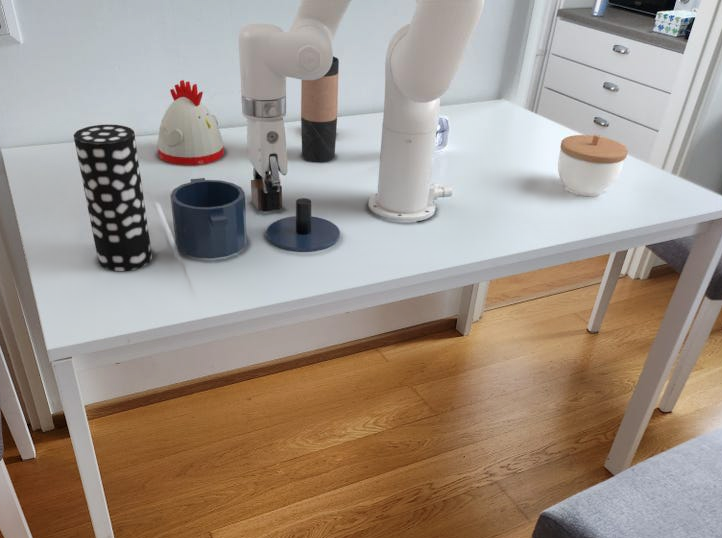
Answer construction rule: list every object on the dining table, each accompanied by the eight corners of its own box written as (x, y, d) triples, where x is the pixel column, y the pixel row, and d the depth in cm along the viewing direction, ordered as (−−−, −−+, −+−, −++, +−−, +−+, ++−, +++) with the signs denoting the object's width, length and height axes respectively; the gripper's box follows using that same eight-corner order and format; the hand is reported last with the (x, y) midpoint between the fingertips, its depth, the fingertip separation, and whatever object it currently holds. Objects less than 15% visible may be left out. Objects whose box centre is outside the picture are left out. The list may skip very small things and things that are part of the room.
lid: (325, 218, 123) (326, 183, 119) (350, 249, 114) (352, 212, 110) (258, 226, 119) (257, 190, 115) (279, 259, 110) (278, 221, 106)
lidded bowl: (560, 173, 145) (573, 121, 138) (620, 186, 140) (637, 133, 133) (543, 192, 136) (555, 137, 129) (606, 207, 131) (623, 151, 125)
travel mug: (331, 164, 144) (335, 65, 132) (297, 160, 145) (297, 61, 133) (338, 152, 150) (342, 56, 138) (305, 148, 151) (306, 53, 139)
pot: (233, 219, 121) (230, 170, 116) (258, 263, 109) (256, 211, 103) (168, 227, 118) (162, 177, 112) (187, 273, 105) (181, 220, 100)
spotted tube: (156, 246, 112) (139, 125, 100) (146, 271, 105) (127, 144, 93) (105, 245, 112) (82, 123, 99) (92, 270, 105) (66, 143, 93)
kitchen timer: (194, 170, 139) (187, 94, 130) (145, 155, 144) (135, 82, 135) (236, 151, 149) (232, 79, 140) (188, 138, 154) (182, 68, 145)
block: (275, 200, 128) (274, 177, 126) (282, 210, 125) (282, 186, 122) (251, 203, 127) (250, 179, 124) (258, 213, 124) (257, 189, 121)
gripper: (300, 119, 110) (300, 222, 121) (271, 90, 122) (273, 186, 133) (255, 122, 108) (259, 227, 119) (230, 93, 120) (236, 190, 131)
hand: (266, 204), depth 126 cm, fingers closed on block, 4 cm apart
